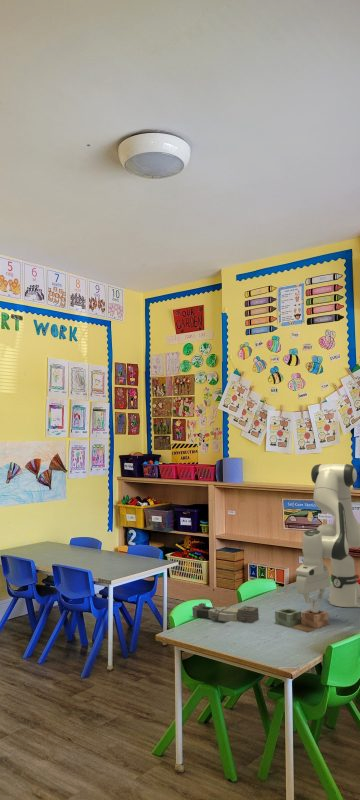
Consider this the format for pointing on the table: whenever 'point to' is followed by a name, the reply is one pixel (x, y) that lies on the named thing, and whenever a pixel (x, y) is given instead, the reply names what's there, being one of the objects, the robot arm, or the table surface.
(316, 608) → the metal pin
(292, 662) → the table surface
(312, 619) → the dock board
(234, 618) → the toy figure
